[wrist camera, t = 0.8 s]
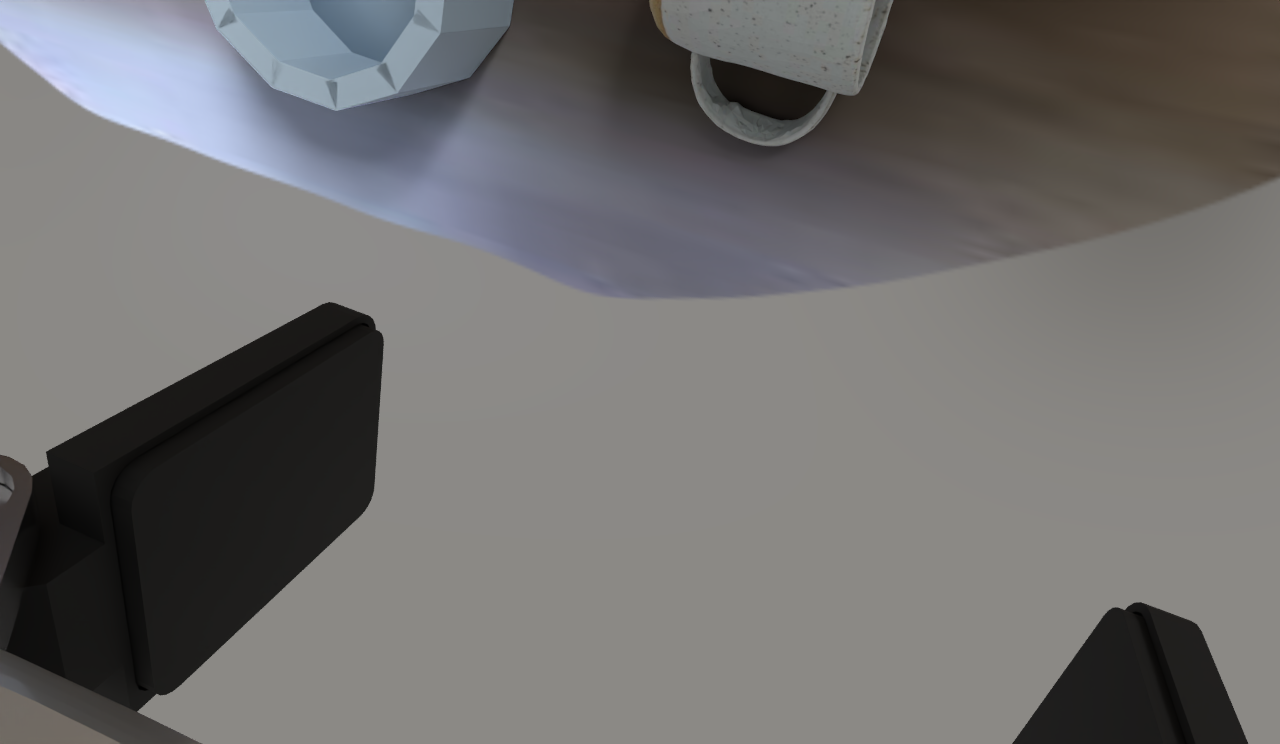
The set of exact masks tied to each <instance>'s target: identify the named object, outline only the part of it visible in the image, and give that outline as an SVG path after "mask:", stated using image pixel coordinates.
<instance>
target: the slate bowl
mask: <svg viewBox="0 0 1280 744" xmlns="http://www.w3.org/2000/svg"><path fill="white" fill-rule="evenodd" d="M205 2H206V5H207V7H208V9H209V12H210V14H211V17H212V19H213V22H214V24H215V26H216V29H217V30H218V31H219V32H220V33H221V34H222V36H223V37H224V38H225V39H226V40H227V41H228V42H229V43H230V44H231V45H232V46H233V47H234V48H235V49H236V50H237V51H238V52H239V54H240V55H241V56H242V57H243V58H244V59H245V60H246V61H247V62H248V63H249V64H250V65H251V66H252V67H253V68H254V69H255V71H256V72H257V73H258V74H259V75H260V76H261V77H262V78H263V79H264V80H265V81H266V82H267V83H268V84H269V85H270V86H271V88H274V89H277V90H279V91H282V92H285V93H288V94H290V95H293V96H296V97H299V98H301V99H304V100H307V101H310V102H313V103H315V104H318V105H321V106H324V107H326V108H329V109H332V110H335V111H339V110H343V109H348V108H353V107H357V106H362V105H366V104H371V103H375V102H380V101H385V100H389V99H394V98H398V97H403V96H408V95H412V94H416V93H420V92H423V91H426V90H430V89H433V88H437V87H440V86H443V85H447V84H450V83H454V82H457V81H461V80H464V79H467V78H470V77H471V76H472V74H473V73H474V72H475V70H476V69H477V68H478V66H479V65H480V64H481V63H482V61H483V60H484V59H485V57H486V56H487V55H488V54H489V52H490V51H491V50H492V48H493V47H494V46H495V45H496V43H497V42H498V41H499V39H500V38H501V37H502V35H503V34H504V33H505V32H506V30H507V29H508V28H509V26H510V22H511V16H512V9H513V3H514V0H205Z"/></svg>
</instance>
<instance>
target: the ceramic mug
mask: <svg viewBox="0 0 1280 744" xmlns="http://www.w3.org/2000/svg"><path fill="white" fill-rule="evenodd" d="M649 3H650V9H651V12H652V14H653V17H654V20H655V22H656V25H657V27H658V28H659V30H660V31H661V32H662V33H663V35H664V36H665V37H666V38H668V39H669V40H671V41H672V42H674V43H675V44H677V45H679V46H681V47H683V48H685V49H688V50H690V51H692V53H691V65H690V70H691V81H692V85H693V88H694V92H695V95H696V98H697V101H698V103H699V105H700V106H701V108H702V109H703V110H704V112H705V113H706V115H707V116H708V117H709V118H710V119H711V120H712V121H713V122H714V123H715V124H716V125H717V126H718V127H720V128H721V129H722V130H724V131H725V132H727V133H729V134H731V135H733V136H734V137H736V138H738V139H741V140H744V141H747V142H750V143H753V144H757V145H763V146H781V145H785V144H788V143H791V142H793V141H795V140H797V139H799V138H801V137H802V136H804V135H806V134H807V133H808V132H810V131H811V130H813V129H814V128H815V126H816V125H817V124H818V123H819V122H820V121H821V120H822V118H823V117H824V116H825V114H826V113H827V112H828V110H829V108H830V106H831V104H832V102H833V101H834V99H835V97H836V95H837V93H839V94H843V95H856V94H858V93H859V91H860V89H861V88H862V86H863V84H864V81H865V79H866V77H867V75H868V73H869V70H870V67H871V64H872V62H873V60H874V57H875V55H876V51H877V48H878V46H879V43H880V40H881V37H882V35H883V32H884V29H885V27H886V23H887V19H888V15H889V12H890V8H891V5H892V3H893V0H649ZM710 57H711V58H714V59H718V60H721V61H725V62H731V63H736V64H740V65H744V66H747V67H751V68H754V69H758V70H761V71H764V72H767V73H770V74H773V75H777V76H780V77H784V78H787V79H790V80H794V81H798V82H802V83H805V84H809V85H812V86H816V87H819V88H822V89H825V90H827V91H826V93H825V94H824V96H823V97H822V99H821V100H820V102H819V103H818V104H817V105H816V106H815V108H814V109H813V110H811V111H810V112H809V113H807V114H806V115H805V116H803V117H801V118H799V119H796V120H783V121H780V120H777V119H773V118H770V117H767V116H764V115H762V114H759V113H756V112H753V111H750V110H748V109H746V108H744V107H742V106H741V105H740V104H739V103H738V102H729V101H728V100H727V99H726V98H725V97H724V96H723V95H722V93H721V92H720V90H719V88H718V87H717V85H716V83H715V81H714V78H713V74H712V67H711V65H710Z"/></svg>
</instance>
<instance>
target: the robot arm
mask: <svg viewBox="0 0 1280 744" xmlns="http://www.w3.org/2000/svg"><path fill="white" fill-rule="evenodd" d="M383 342H384V341H383V336H382V334H381V333H380V332H379V331H377V330H376V328H375V323H374V321H373V319H372V318H371V317H370V316H368V315H365V314H362V313H360V312H357V311H355V310H352V309H349V308H347V307H344V306H341V305H338V304H336V303H330V302H328V303H325V304H322V305H320V306H318V307H317V308H315V309H313V310H311V311H309V312H307V313H305V314H303V315H302V316H300V317H298V318H296V319H294V320H292V321H290V322H288V323H287V324H285V325H283V326H281V327H279V328H277V329H276V330H274V331H272V332H270V333H268V334H266V335H264V336H262V337H260V338H259V339H257V340H255V341H253V342H251V343H249V344H247V345H246V346H244V347H242V348H240V349H238V350H236V351H234V352H233V353H230V354H229V355H227V356H225V357H223V358H221V359H219V360H217V361H215V362H214V363H212V364H210V365H208V366H206V367H204V368H202V369H201V370H198V371H197V372H195V373H193V374H191V375H189V376H187V377H185V378H183V379H182V380H180V381H178V382H176V383H174V384H172V385H170V386H168V387H167V388H165V389H163V390H161V391H160V392H157V393H155V394H154V395H152V396H150V397H148V398H146V399H144V400H142V401H140V402H139V403H137V404H135V405H133V406H131V407H129V408H127V409H125V410H124V411H122V412H120V413H118V414H116V415H114V416H112V417H110V418H109V419H107V420H105V421H103V422H101V423H99V424H97V425H95V426H94V427H92V428H90V429H88V430H86V431H84V432H82V433H80V434H79V435H77V436H75V437H73V438H71V439H69V440H67V441H65V442H64V443H62V444H60V445H58V446H56V447H54V448H52V449H50V450H49V451H47V452H46V454H47V460H48V465H49V467H47V468H45V469H44V470H42V471H40V472H38V473H36V474H35V475H33V476H31V474H30V473H29V471H28V470H27V468H26V467H25V466H24V465H23V464H21V463H19V462H17V461H16V460H14V459H12V458H10V457H7V456H3V455H0V744H201V743H199V742H197V741H195V740H193V739H191V738H189V737H187V736H185V735H183V734H181V733H179V732H177V731H175V730H173V729H171V728H168V727H167V726H164V725H162V724H160V723H158V722H156V721H154V720H152V719H150V718H148V717H146V716H144V715H142V714H140V713H138V712H137V711H138V710H139V709H140V708H142V707H143V705H145V704H146V703H147V702H148V701H149V700H150V699H151V698H152V697H154V696H155V695H156V694H159V695H166V694H168V693H170V692H172V691H174V690H175V689H176V688H177V687H179V686H180V685H181V684H182V683H183V682H184V681H185V680H186V679H187V678H188V677H190V675H192V674H193V673H194V672H195V671H196V670H197V669H198V668H199V667H200V666H201V665H202V664H203V663H204V662H205V661H207V660H208V659H209V658H210V657H211V656H212V655H213V654H214V653H215V652H216V651H217V650H218V649H219V648H220V647H221V646H222V645H224V644H225V643H226V642H227V641H228V640H229V639H230V638H231V637H232V636H233V635H234V634H235V633H236V632H237V631H238V630H239V629H241V628H242V627H243V625H245V624H246V623H247V622H248V621H249V620H250V619H251V618H252V617H253V616H254V615H255V614H256V613H257V612H259V611H260V610H261V609H262V608H263V607H264V606H265V605H266V604H267V603H268V602H269V601H270V600H271V599H273V598H274V597H275V596H276V595H277V594H278V593H279V592H280V591H281V590H282V589H283V588H284V587H285V586H286V585H287V584H288V583H289V582H291V581H292V580H293V579H294V578H295V577H296V576H297V575H298V574H299V573H300V572H301V571H302V570H303V569H304V568H305V567H307V565H309V564H310V563H311V562H312V561H313V560H314V559H315V558H316V557H317V556H318V555H319V554H320V553H321V552H322V551H323V550H325V549H326V548H327V547H328V546H329V545H330V544H331V543H332V542H333V541H334V540H335V539H336V538H337V537H338V536H340V534H342V533H343V532H344V531H345V530H346V529H347V528H348V527H349V526H350V525H351V524H352V523H353V522H354V521H355V520H356V519H358V518H359V517H360V516H361V515H362V514H363V512H364V511H365V510H366V508H367V507H368V505H369V503H370V501H371V499H372V496H373V492H374V482H375V467H376V452H377V437H378V422H379V421H378V420H379V407H380V391H381V376H382V361H383V346H384V344H383ZM1012 744H1248V742H1247V740H1246V737H1245V735H1244V732H1243V730H1242V728H1241V725H1240V723H1239V720H1238V718H1237V715H1236V713H1235V711H1234V708H1233V706H1232V703H1231V701H1230V699H1229V696H1228V694H1227V691H1226V689H1225V687H1224V684H1223V682H1222V680H1221V677H1220V675H1219V672H1218V670H1217V668H1216V666H1215V663H1214V660H1213V658H1212V655H1211V653H1210V651H1209V648H1208V646H1207V643H1206V641H1205V639H1204V636H1203V634H1202V631H1201V630H1200V628H1199V627H1198V626H1197V624H1195V623H1193V622H1192V621H1190V620H1187V619H1184V618H1181V617H1179V616H1176V615H1174V614H1171V613H1168V612H1165V611H1163V610H1160V609H1157V608H1154V607H1152V606H1149V605H1147V604H1144V603H1141V602H1140V603H1133V604H1132V605H1130V606H1128V607H1127V608H1126V610H1123V609H1120V608H1112V609H1111V610H1109V611H1108V612H1107V613H1106V614H1105V615H1104V616H1103V618H1102V619H1101V621H1100V622H1099V623H1098V625H1097V626H1096V628H1095V629H1094V630H1093V632H1092V633H1091V635H1090V636H1089V637H1088V639H1087V640H1086V642H1085V643H1084V644H1083V646H1082V647H1081V648H1080V650H1079V651H1078V653H1077V654H1076V656H1075V657H1074V658H1073V660H1072V661H1071V663H1070V664H1069V665H1068V667H1067V668H1066V669H1065V671H1064V672H1063V674H1062V675H1061V676H1060V678H1059V679H1058V681H1057V682H1056V683H1055V685H1054V686H1053V688H1052V689H1051V690H1050V692H1049V693H1048V695H1047V696H1046V698H1045V699H1044V700H1043V702H1042V703H1041V704H1040V706H1039V707H1038V709H1037V710H1036V711H1035V713H1034V714H1033V716H1032V717H1031V718H1030V720H1029V721H1028V723H1027V724H1026V725H1025V727H1024V728H1023V730H1022V731H1021V732H1020V734H1019V735H1018V736H1017V738H1016V739H1015V741H1014V742H1013V743H1012Z"/></svg>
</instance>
